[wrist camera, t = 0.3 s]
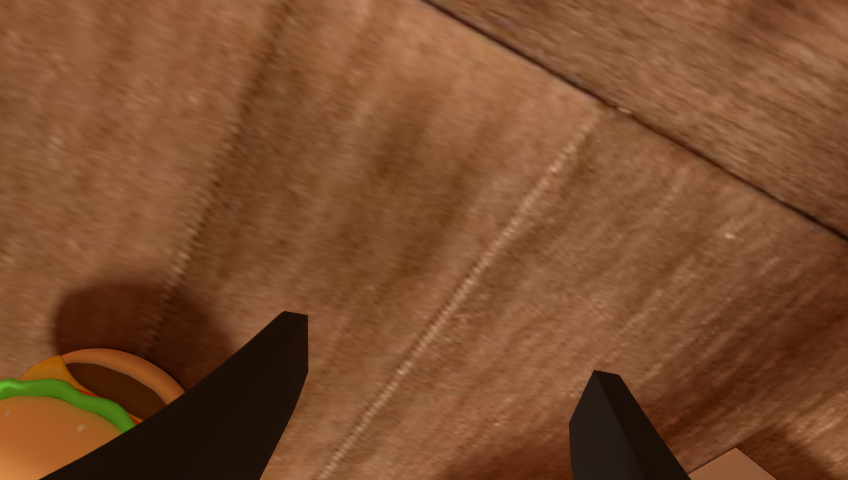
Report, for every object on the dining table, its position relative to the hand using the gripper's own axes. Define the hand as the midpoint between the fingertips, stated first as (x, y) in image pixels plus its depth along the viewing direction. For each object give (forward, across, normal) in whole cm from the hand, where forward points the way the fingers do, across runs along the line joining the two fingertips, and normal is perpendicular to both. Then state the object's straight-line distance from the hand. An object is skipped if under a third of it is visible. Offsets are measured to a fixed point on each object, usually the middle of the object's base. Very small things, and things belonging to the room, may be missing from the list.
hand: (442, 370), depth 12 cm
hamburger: (+9, +18, +18) cm, 27 cm away
